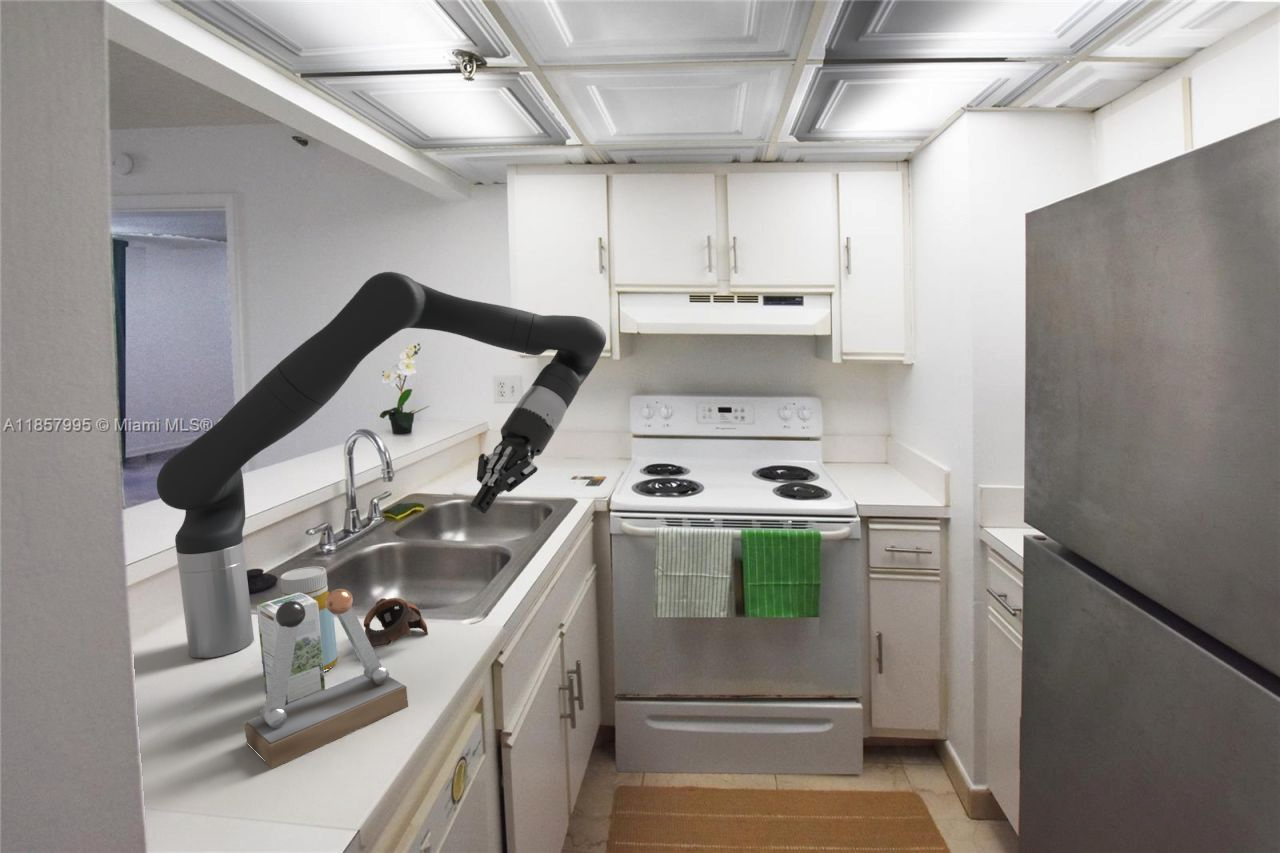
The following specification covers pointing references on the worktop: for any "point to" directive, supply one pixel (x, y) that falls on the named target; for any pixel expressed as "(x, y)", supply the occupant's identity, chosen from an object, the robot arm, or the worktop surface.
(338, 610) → the lever terracotta
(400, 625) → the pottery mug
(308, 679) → the syrup box
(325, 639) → the bottle
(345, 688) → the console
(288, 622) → the lever black
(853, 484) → the worktop surface
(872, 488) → the worktop surface
